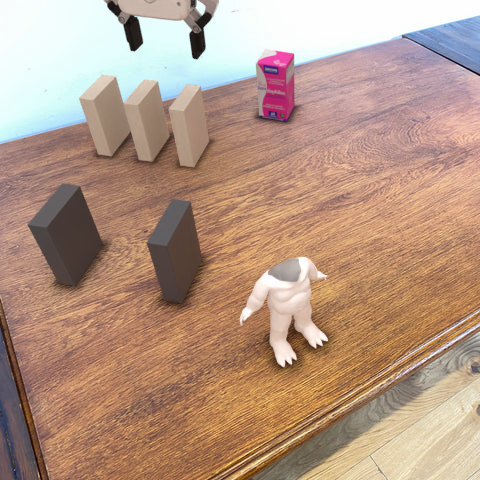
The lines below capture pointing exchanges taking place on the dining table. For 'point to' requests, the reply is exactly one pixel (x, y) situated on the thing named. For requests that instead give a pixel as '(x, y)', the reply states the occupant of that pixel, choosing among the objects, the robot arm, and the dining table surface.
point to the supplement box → (275, 84)
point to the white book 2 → (147, 120)
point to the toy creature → (287, 304)
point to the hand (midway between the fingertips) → (167, 51)
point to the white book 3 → (189, 125)
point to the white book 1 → (105, 114)
